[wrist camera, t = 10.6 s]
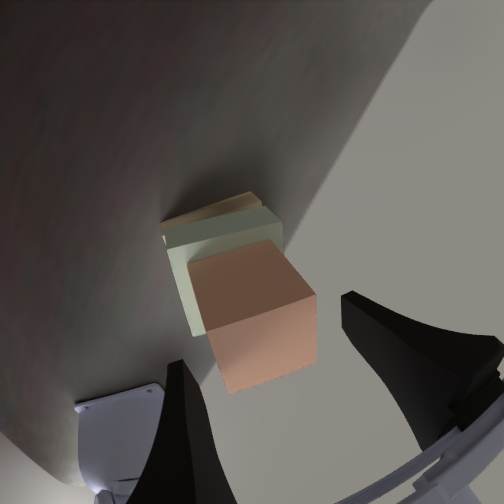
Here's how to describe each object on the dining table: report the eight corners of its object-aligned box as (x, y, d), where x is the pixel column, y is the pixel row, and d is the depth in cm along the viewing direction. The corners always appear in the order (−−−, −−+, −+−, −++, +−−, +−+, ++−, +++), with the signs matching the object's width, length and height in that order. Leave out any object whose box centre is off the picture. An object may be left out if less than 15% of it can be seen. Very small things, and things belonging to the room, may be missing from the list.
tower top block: (186, 311, 20) (192, 337, 18) (163, 229, 17) (166, 249, 15) (272, 287, 21) (287, 309, 19) (265, 205, 18) (282, 221, 16)
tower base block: (189, 292, 22) (195, 313, 20) (160, 219, 19) (162, 235, 17) (265, 263, 23) (278, 281, 21) (247, 189, 20) (261, 200, 18)
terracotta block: (206, 327, 18) (229, 394, 13) (186, 264, 15) (205, 331, 11) (278, 303, 18) (316, 362, 14) (270, 239, 16) (316, 294, 12)
